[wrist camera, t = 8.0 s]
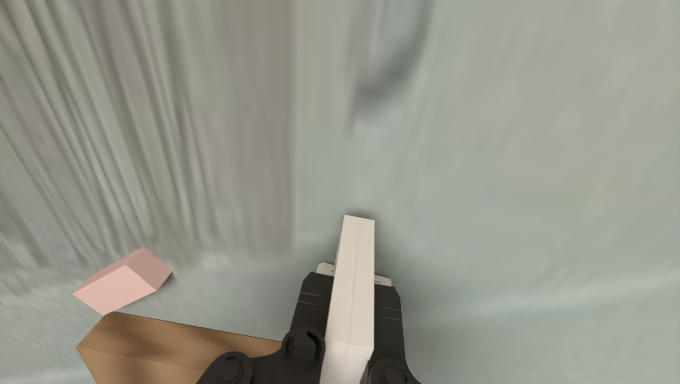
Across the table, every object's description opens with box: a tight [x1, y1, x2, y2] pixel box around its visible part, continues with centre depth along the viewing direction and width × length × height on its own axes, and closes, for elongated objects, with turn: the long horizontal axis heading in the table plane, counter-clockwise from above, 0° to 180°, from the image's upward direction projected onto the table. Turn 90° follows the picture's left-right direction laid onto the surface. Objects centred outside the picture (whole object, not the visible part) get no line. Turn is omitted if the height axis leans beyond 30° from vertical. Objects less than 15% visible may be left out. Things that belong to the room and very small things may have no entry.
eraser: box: [72, 247, 172, 316], centre depth 20 cm, size 6×2×2 cm, turn 121°
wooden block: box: [76, 312, 282, 384], centre depth 24 cm, size 20×6×3 cm, turn 82°
